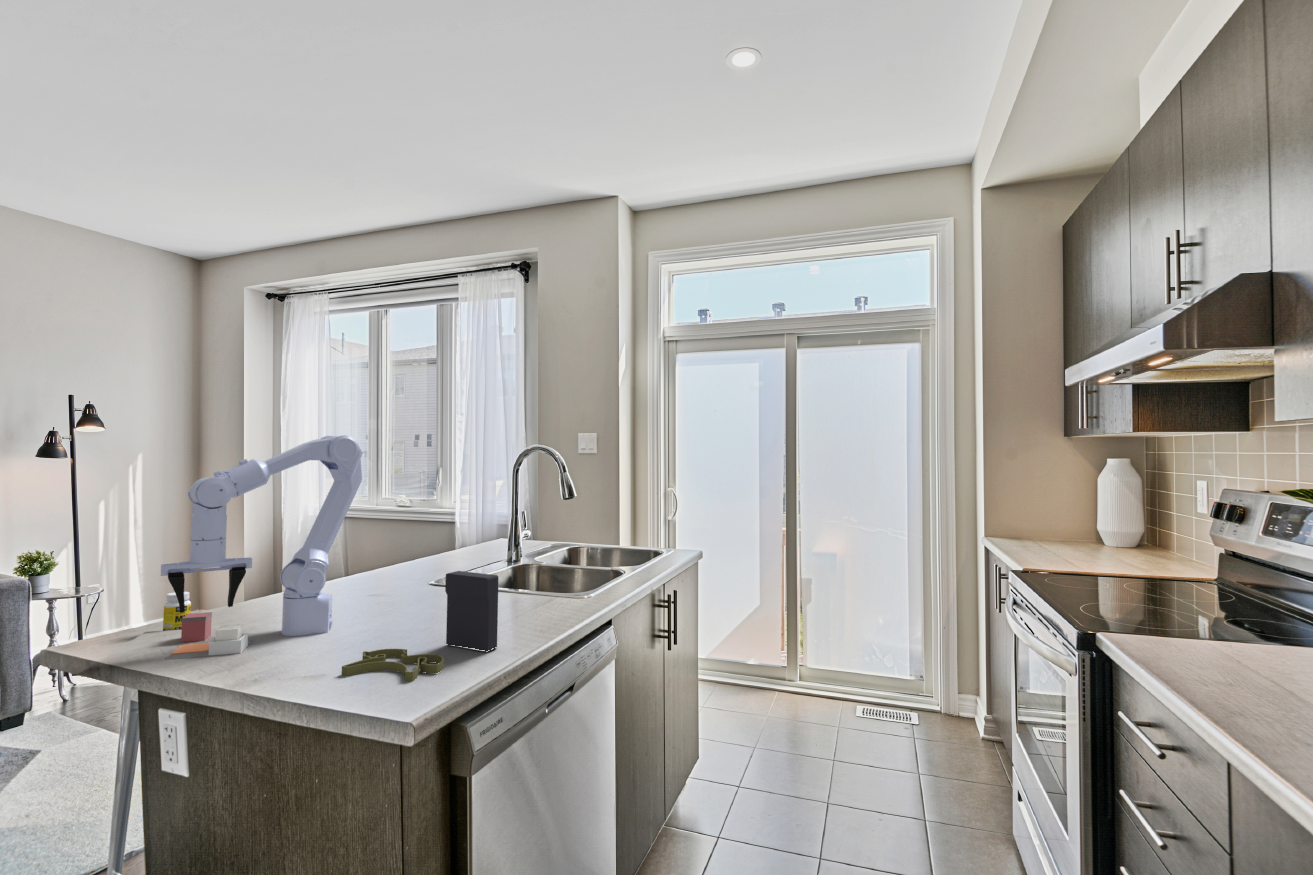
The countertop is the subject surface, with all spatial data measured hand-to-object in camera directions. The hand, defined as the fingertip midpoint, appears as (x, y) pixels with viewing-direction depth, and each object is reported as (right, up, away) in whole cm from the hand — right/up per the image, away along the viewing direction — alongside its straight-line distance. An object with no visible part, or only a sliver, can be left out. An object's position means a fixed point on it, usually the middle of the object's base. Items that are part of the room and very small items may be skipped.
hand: (206, 608), depth 124 cm
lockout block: (-6, -9, +6) cm, 12 cm away
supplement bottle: (-17, -9, +15) cm, 24 cm away
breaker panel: (+2, -9, -1) cm, 9 cm away
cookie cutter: (+40, -10, -7) cm, 42 cm away
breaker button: (+5, -6, -2) cm, 8 cm away
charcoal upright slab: (+50, -10, +6) cm, 51 cm away
